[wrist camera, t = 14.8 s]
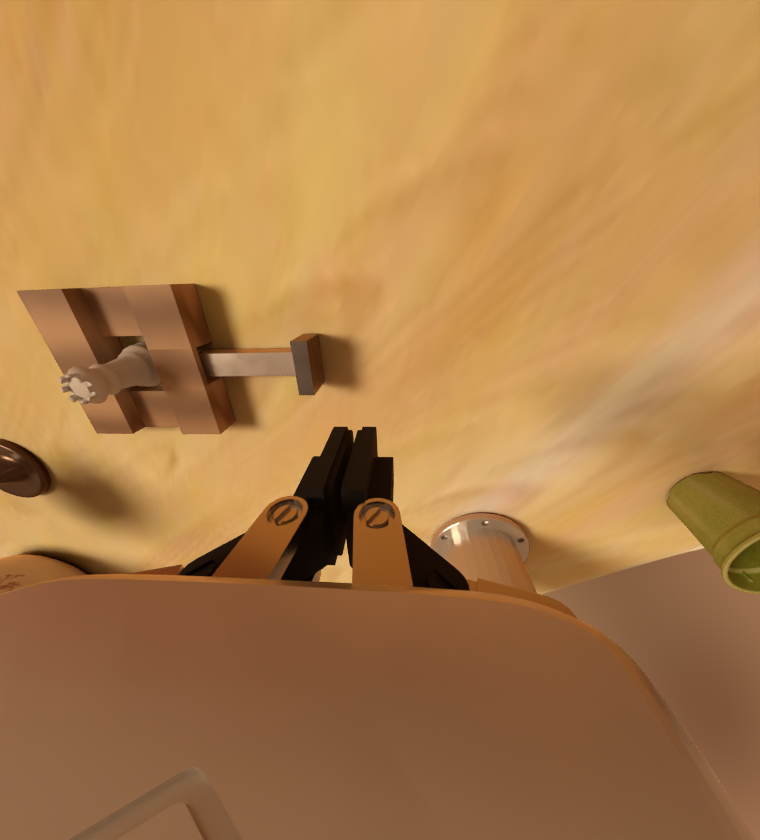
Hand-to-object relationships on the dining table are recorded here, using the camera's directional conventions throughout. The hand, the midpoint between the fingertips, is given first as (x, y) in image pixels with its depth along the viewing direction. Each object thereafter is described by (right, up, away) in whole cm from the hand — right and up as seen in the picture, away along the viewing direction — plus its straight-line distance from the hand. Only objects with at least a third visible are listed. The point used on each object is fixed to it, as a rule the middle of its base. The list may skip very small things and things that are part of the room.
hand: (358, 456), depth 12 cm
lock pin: (-11, +8, +16) cm, 21 cm away
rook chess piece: (-23, +8, +17) cm, 30 cm away
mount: (-23, +8, +17) cm, 29 cm away
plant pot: (+37, -7, +20) cm, 42 cm away
